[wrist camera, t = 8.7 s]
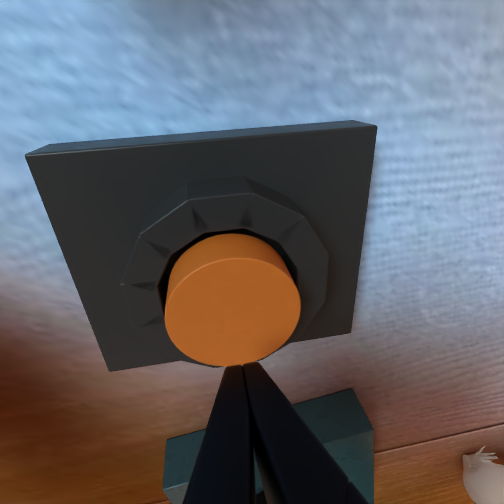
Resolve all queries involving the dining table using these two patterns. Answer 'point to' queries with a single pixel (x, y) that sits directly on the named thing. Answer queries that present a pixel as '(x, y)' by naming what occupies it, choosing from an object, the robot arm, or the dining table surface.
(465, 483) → the white lumpy figure
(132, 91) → the dining table surface
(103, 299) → the button base
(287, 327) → the button
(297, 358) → the dining table surface
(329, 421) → the dial console
